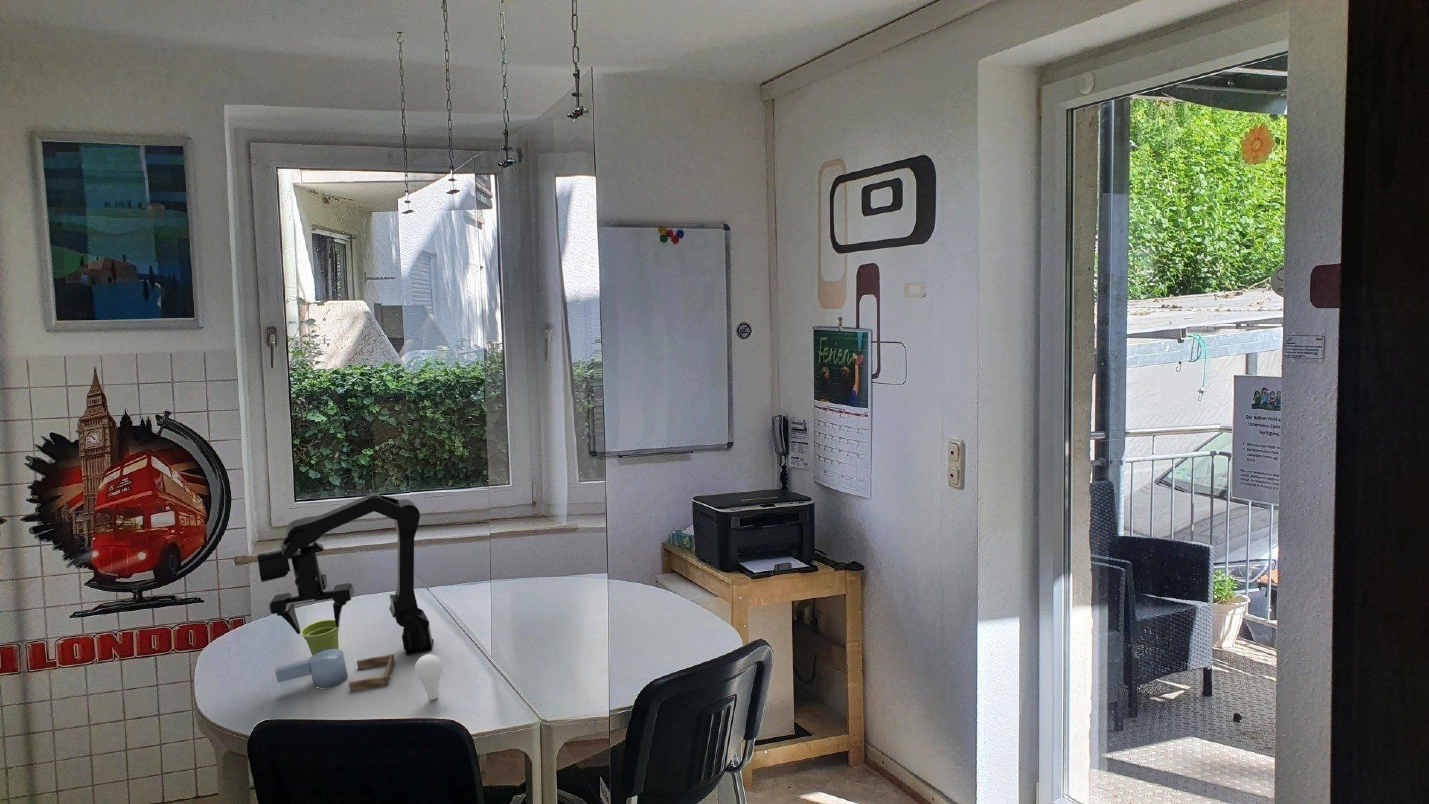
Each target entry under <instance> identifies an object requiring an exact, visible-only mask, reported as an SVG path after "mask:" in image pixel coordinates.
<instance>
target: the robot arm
mask: <svg viewBox="0 0 1429 804" xmlns="http://www.w3.org/2000/svg"><path fill="white" fill-rule="evenodd" d="M374 512H375V513H378V514H380V515H383V516H385V517H387V518H389V519H392V520H393V522H394V525H395V530H396V535H397V582H396V583H397V585H396V587H397V588H396V591H395V594H389V599H390V604H389V605H390V606H389V607H388V608H389V609H388V610H389V611H390V614H391V615H392V618H394V619H395V621H396V624H398V626H399V627H402V628H403V629H402V631H403V632H402V634H401V640H402V645H403V650H404V651H405V655H406V656H408V654H409V655H413V653H415V654H420V652H421V653H425V652H430V651H432V650H433V645H434V638H433V637H432V632H431V626H430V621H429V619H428V616H427V615H426V613H425V612H424V610H423V609H421V608H419V607H418V603H417V597H416V595H415V590H414V589H415V578H414V577H415V537H416V535H417V532H418V529H419V523H420V517H421V514H420V510H419V508H418V507H417V506H416V505H415V503H414V502H413V501H411V500H410V499H405V498H404V499H396V498H393V497H390V496H386V495H381V494H379V493H377V492H370V493H368V494H367V495H365V496H362V497H361V498H359V499H355V500H353V501H351V502H349V503H346V504H344V505H342V506H339V507H337V508H334V509H332V510H330V511H328V512H324V513H322V514H319V515H313V516H307V517H306V516H305V517H303V518H298V519H295V520H293V521H291V522H290V523H288V525H287V527H286V530H285V531H286V532H285V534H286V537H285V538H284V540H283V542H282V544H281V546H280V549H278V550H273V551H269V552H261V553H257V555H256V557H257V561H258V572H259V576H260V582H261V583H266V582H269V581H274V580H278V579H282V578H285V577H287V575H289V572H291V567H290V563H289V559H291V565H292V568H293V574H294V580H295V581H294V585H295V586H296V589H297V593H298V595H295V596H292V594H291V592H287V593H286V592H285V593H279V594H274V596H273V598H272V600H271V601H270V602H269V611H270V612H269V613H270V614H272V615H273V614H276V616H278V617H282V618H283V619H284V620H285V621H286V622H287V623H288V624H289V625H290V626H291V627H292V629H293V630H294V631H295V633H296V634H297V635H300V634H301V630H300V629H301V628H300V624H299V620H298V617H297V613H296V609H295V605H300V604H306V603H311V602H312V603H313V602H317V601H324V600H330V599H331V600H332V601H333V602H334V603H332V604H333V605H332V609H333V616H334V617H333V618H334V620H335V624H336V627H337V628H338V627H340V626H339V623H340V621H341V616H342V610H343V606H345V605H346V604H347V602H350V601H351V600H352V598H353V596H354V593H355V591H354V586H353V585H352V584H351V583H350V582H348V583H343V584H336V585H335V586H334V588H333V590H332V589H331V590H326V589H327V587H328V580H327V579H328V578H327V573H325V574H323V573H322V571H321V569H320V565H319V559H318V554H317V553H320V552H323V551H324V550H325V549H324V546H323V544H322V543H319V542H317V541H318V540H319V539H320V538H321V537H323V536H324V535H325V534H326V533H328V532H330V531H332V530H334V529H336V528H339V527H342V526H343V525H346V524H348V523H350V522H353V521H355V520H358V519H360V518H362V517H364V516H366V515H367V516H368V515H369V514H371V513H374ZM325 590H326V591H325ZM340 624H341V623H340Z"/></svg>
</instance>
